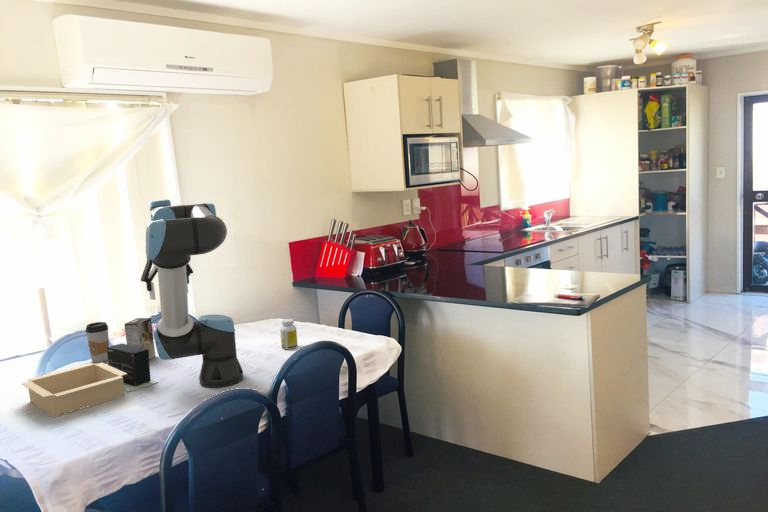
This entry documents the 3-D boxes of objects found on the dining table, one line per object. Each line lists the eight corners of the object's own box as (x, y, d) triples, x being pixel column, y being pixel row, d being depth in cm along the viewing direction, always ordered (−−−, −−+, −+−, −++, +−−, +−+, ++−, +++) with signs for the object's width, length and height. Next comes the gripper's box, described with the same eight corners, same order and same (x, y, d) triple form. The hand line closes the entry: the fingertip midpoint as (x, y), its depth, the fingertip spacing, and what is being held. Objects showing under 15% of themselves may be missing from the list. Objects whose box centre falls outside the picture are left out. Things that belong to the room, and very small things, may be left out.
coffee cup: (84, 363, 255) (80, 326, 253) (101, 356, 263) (96, 321, 261) (100, 364, 252) (96, 327, 250) (116, 358, 260) (112, 322, 257)
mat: (158, 382, 228) (158, 381, 228) (128, 392, 220) (127, 390, 220) (131, 371, 243) (131, 370, 242) (102, 379, 235) (101, 378, 235)
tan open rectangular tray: (133, 395, 217) (131, 375, 216) (49, 420, 198) (47, 399, 197) (101, 379, 235) (98, 361, 234) (21, 401, 216) (19, 381, 215)
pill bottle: (300, 346, 264) (299, 319, 262) (290, 351, 259) (288, 323, 257) (288, 344, 268) (286, 317, 266) (278, 349, 262) (276, 321, 260)
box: (152, 381, 229) (148, 348, 227) (135, 386, 224) (131, 353, 222) (125, 373, 239) (122, 342, 237) (108, 378, 234) (105, 346, 232)
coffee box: (141, 356, 262) (137, 317, 259) (155, 356, 260) (151, 317, 258) (128, 363, 253) (123, 323, 250) (143, 363, 251) (138, 323, 249)
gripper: (188, 236, 254) (193, 288, 257) (127, 244, 236) (133, 301, 239) (198, 237, 249) (203, 291, 252) (136, 245, 231) (142, 303, 234)
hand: (169, 296), depth 246 cm, fingers open, 13 cm apart
